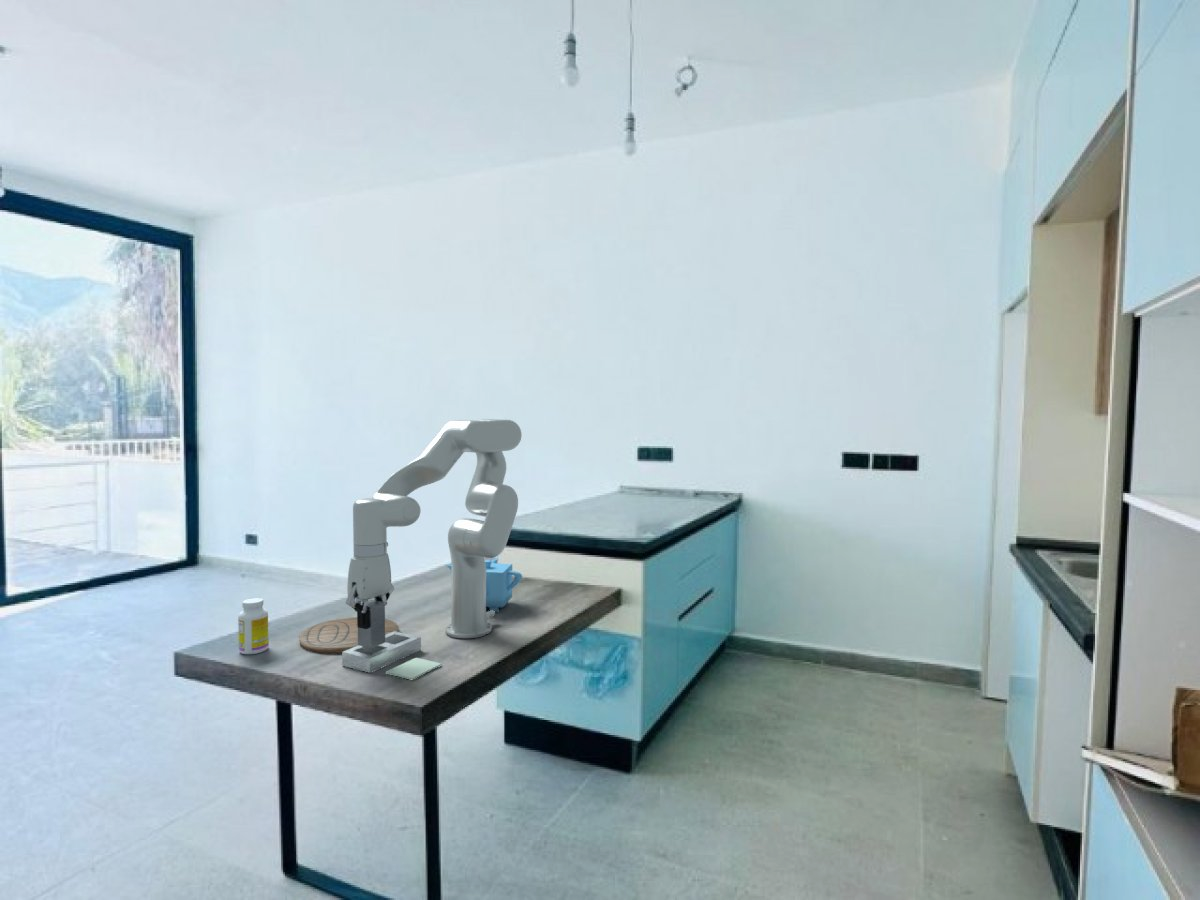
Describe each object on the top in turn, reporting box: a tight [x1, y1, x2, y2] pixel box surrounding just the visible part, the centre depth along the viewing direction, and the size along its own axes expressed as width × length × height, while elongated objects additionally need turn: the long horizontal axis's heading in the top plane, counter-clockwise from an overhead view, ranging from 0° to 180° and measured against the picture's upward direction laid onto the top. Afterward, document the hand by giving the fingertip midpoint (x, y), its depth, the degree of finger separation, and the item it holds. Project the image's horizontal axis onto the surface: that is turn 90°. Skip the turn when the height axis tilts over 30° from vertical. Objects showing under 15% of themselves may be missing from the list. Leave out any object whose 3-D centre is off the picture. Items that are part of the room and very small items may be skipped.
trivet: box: [298, 616, 399, 654], centre depth 175 cm, size 25×25×2 cm
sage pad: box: [385, 657, 442, 679], centre depth 153 cm, size 10×8×1 cm
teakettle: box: [444, 557, 523, 612], centre depth 204 cm, size 19×19×15 cm
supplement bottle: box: [237, 597, 269, 655], centre depth 164 cm, size 7×7×13 cm
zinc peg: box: [358, 599, 386, 648], centre depth 157 cm, size 4×4×10 cm
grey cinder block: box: [341, 631, 422, 674], centre depth 160 cm, size 17×9×4 cm, turn 153°
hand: (371, 624), depth 157 cm, fingers closed on zinc peg, 4 cm apart
